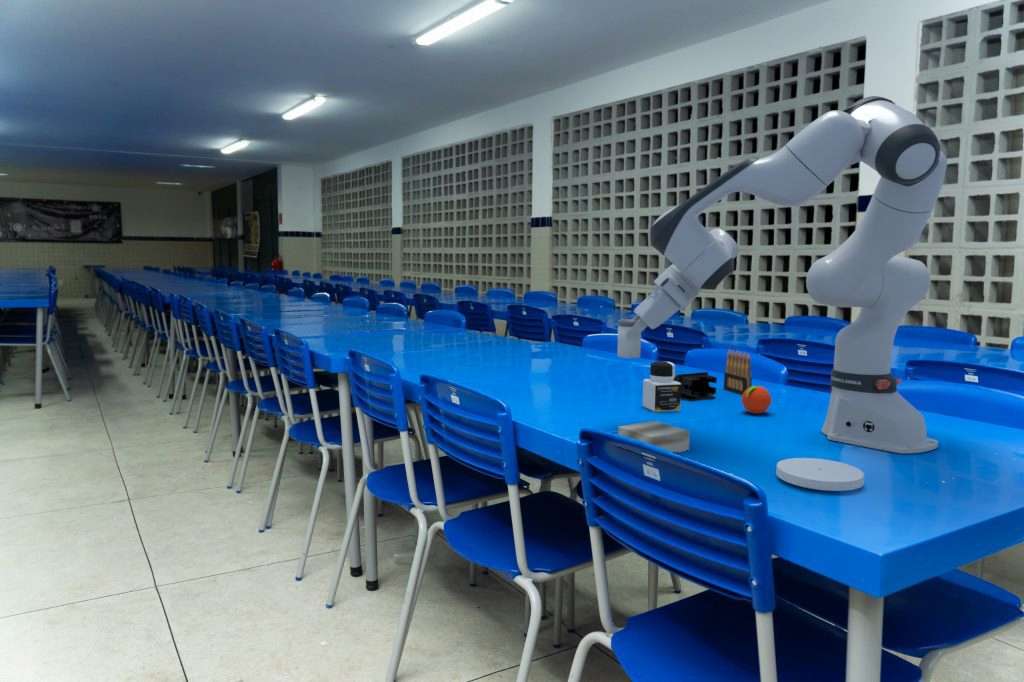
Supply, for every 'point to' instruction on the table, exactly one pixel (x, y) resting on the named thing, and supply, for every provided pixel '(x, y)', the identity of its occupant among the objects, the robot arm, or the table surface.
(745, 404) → the clementine
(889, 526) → the table surface
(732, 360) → the ammunition clip
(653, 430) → the plinth
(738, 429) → the table surface
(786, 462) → the plastic lid
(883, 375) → the robot arm
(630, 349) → the salt shaker
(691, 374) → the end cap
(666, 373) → the medicine bottle
